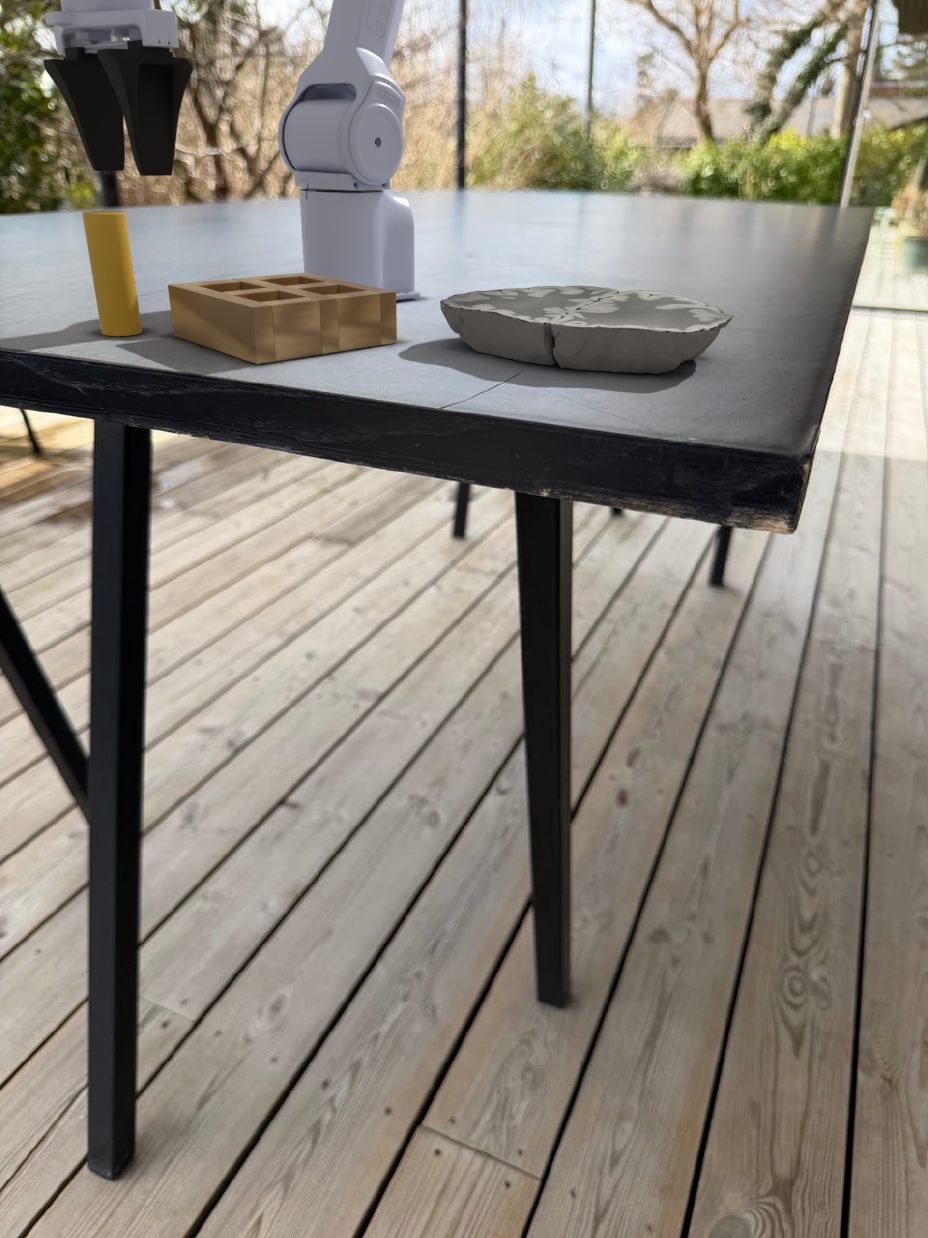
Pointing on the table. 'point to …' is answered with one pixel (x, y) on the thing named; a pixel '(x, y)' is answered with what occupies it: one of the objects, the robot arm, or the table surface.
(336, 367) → the table surface
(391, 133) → the robot arm
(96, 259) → the yellow peg
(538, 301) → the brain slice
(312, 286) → the stand
